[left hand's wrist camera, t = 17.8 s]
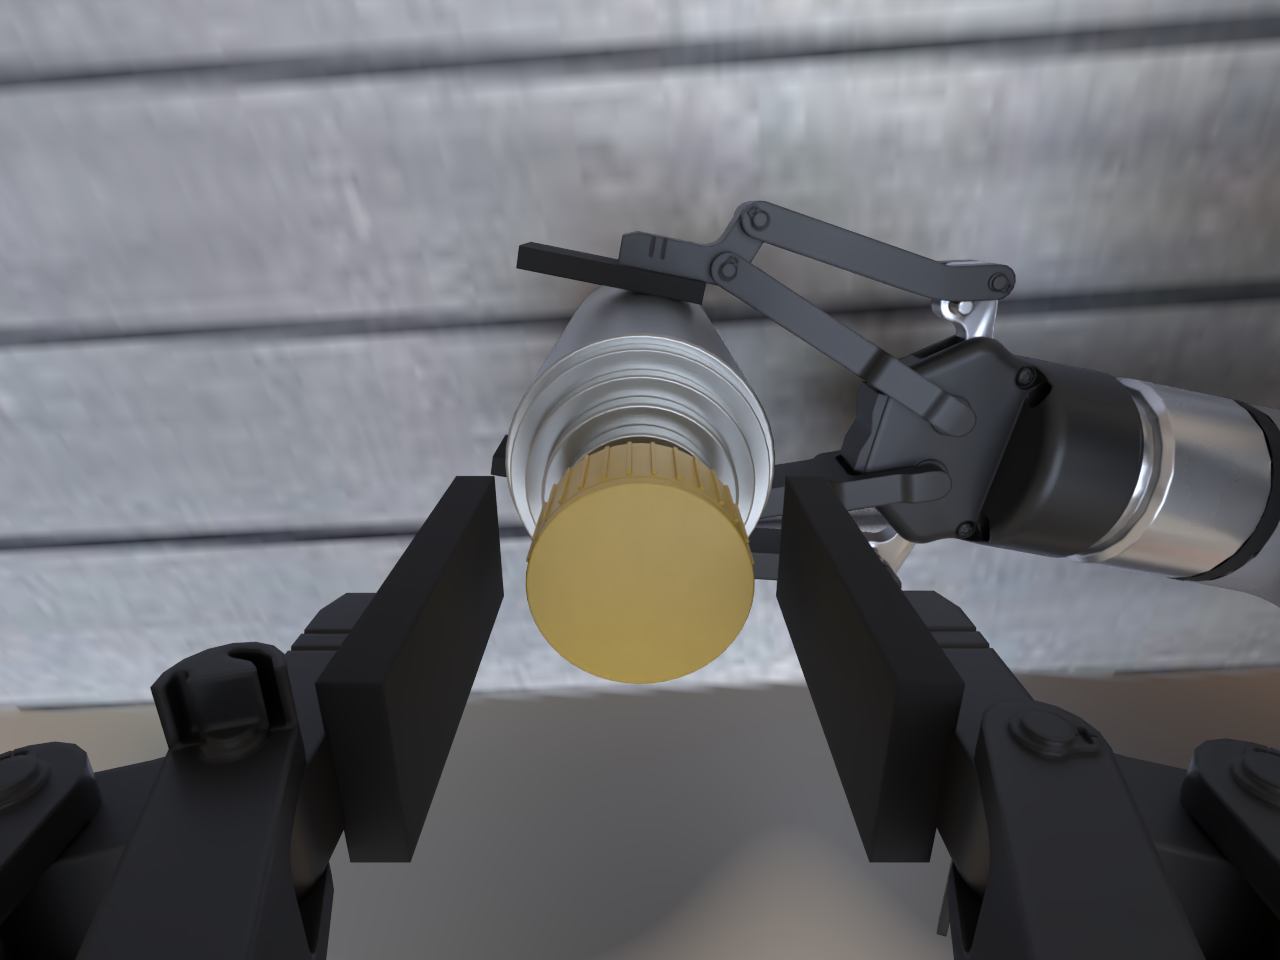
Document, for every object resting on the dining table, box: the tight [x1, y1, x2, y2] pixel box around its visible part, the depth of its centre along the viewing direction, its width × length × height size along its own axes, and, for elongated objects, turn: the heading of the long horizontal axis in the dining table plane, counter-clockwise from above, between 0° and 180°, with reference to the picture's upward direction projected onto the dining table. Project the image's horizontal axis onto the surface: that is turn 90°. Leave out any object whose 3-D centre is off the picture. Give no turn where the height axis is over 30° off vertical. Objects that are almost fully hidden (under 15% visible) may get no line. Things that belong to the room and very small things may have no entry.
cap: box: [526, 442, 755, 684], centre depth 13 cm, size 4×4×2 cm
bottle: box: [505, 285, 775, 538], centre depth 23 cm, size 7×7×22 cm
